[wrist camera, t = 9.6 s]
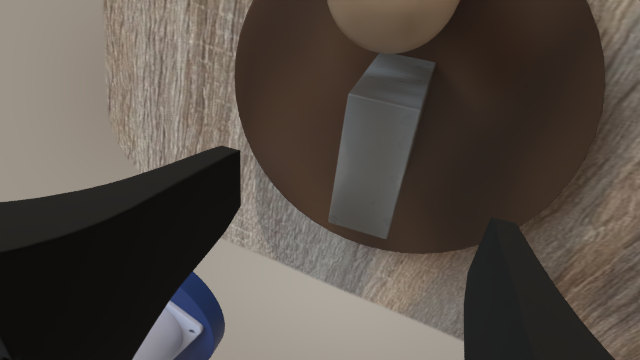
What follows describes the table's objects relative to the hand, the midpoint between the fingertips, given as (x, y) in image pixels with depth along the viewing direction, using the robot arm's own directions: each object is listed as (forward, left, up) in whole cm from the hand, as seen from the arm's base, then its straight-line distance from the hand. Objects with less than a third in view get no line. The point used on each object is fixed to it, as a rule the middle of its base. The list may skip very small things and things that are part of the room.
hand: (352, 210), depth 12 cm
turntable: (0, 0, -8) cm, 8 cm away
